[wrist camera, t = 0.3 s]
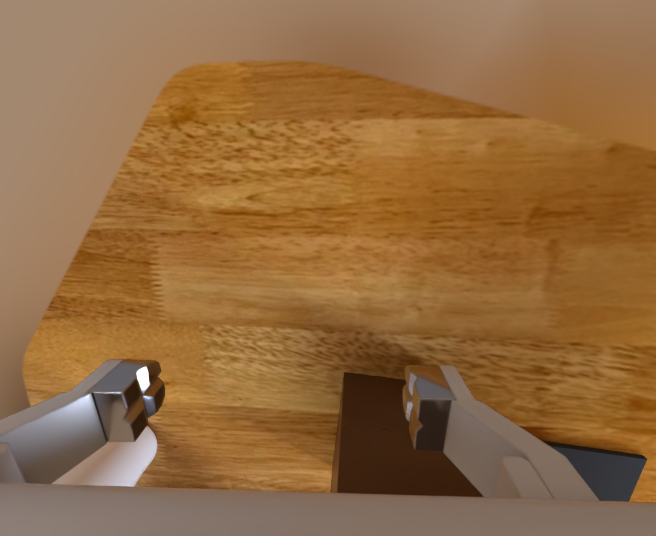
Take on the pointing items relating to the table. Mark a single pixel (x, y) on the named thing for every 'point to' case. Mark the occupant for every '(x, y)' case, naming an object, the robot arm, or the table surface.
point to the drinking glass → (114, 463)
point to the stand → (386, 446)
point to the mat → (605, 470)
